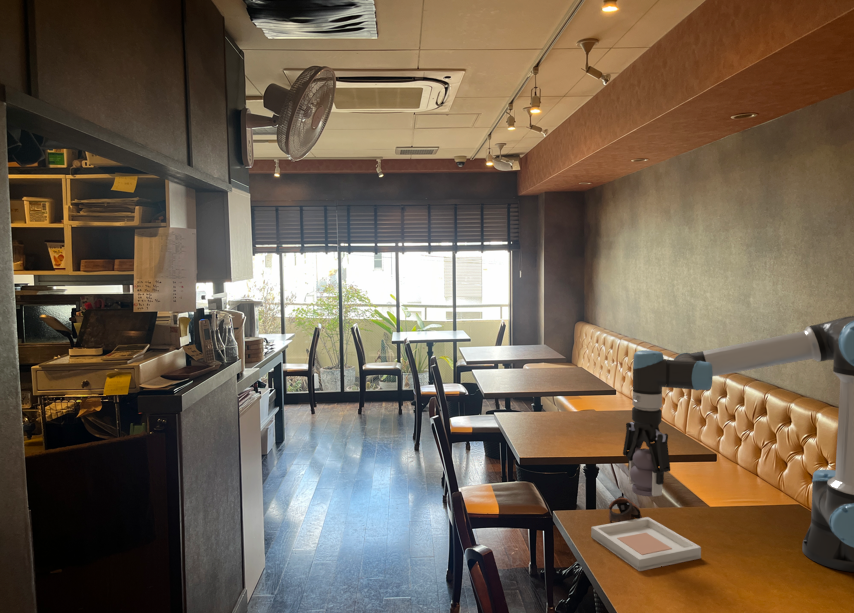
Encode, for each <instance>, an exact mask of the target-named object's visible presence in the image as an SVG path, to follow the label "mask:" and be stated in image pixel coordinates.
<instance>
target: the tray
mask: <svg viewBox="0 0 854 613" xmlns="http://www.w3.org/2000/svg"><path fill="white" fill-rule="evenodd" d="M590 535H591V538H592V539H593V540H594V541H596V542H598V543H599V544H600V545H601V546H603V547H605V548H606V549H607V550H609V551H610V552H612V553H613V554H615V556H617V557H618V558H619V559H621V560H623V562H625V563H627V564H628V565H630V566H631V567H633V568H634V569H635V570H637V571H638V572H643V571H648V570H651V569H655V568H656V569H657V568H661V566H662V567H665V566H666V567H667V566H669V565H670V566H671V565H675V564H680V563H684V562H689V561H693V560H694V561H695V560H698V559H699V560H700V559H701V558H702V547H701V546H700V545H699V544H696V543H695V542H693V541H691V540H689V539H688V538H686V537H684V536H682V535H680V534H678V532H675V531H674V530H672V529H670V528H668V527H666V526H665V525H663V524H662V523H659V522H658V521H656V520H654V519H652V518H651V517H649V516H646V517H642V518H640V519H637V518H633V519H632V520H627V521H622V522H610V523H607V524H601V525H595V526H591V532H590Z"/></svg>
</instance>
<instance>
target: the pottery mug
mask: <svg viewBox="0 0 854 613" xmlns="http://www.w3.org/2000/svg"><path fill="white" fill-rule="evenodd" d="M614 506H617V508H618V511H619V512H618V513H616V512H614V511H613V508H614ZM608 509H609V510H608V511H609V512H608V519H609V522H610V523H617V522H622V521H628V520H633V519H640V518H643V517H642V514H641V510H640V508H639V507H638V505H637V504H635V503H634V502H633V501H631V500H630V499H629V498H626V497H624V496H622V495H621V496H618V497H617V498H616V499H614V500H612V501H611V503H609V506H608Z"/></svg>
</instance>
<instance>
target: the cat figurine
mask: <svg viewBox="0 0 854 613" xmlns="http://www.w3.org/2000/svg"><path fill="white" fill-rule="evenodd" d="M633 462H634V464H635V465H634V466H633V467H632V468H631V470H630V477H631V479H632V481H633V482H634V483H635V484H631V491H632V492H633V494H636V495H638V496H642V497H653V496H652V471H655V469H654V466H653V462H652V458H651V454H650V451H649V448H643V447H642V448H641V449H640V448H638V447H636V448H635V453H634V455H633Z"/></svg>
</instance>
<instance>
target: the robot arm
mask: <svg viewBox="0 0 854 613" xmlns="http://www.w3.org/2000/svg"><path fill="white" fill-rule="evenodd" d="M808 360H813V361H816V362H817V363H820V362H826V361H833V364H832V367H833V368H832V373H833V374H834V375H835V376H836V377H837V378H838V379H839V381H840V382H839V396H838V397H839V398H838V399H839V400H838V417H837V418H838V419H837V434H836V435H837V436H836V437H837V438H836V440H837V441H836V455H835V456H836V457H835V458H836V459H835V470H834V469H818V470H814V472H813V473H812V474H813V476H812V480H811V484H812V486H811V487H812V488H811V489H812V490H811V491H812V492H811V513H810V514H811V521H810V525H809V527H808V529H807V532H806V533H805V536H804V539H803V540H802V553H803V554H804V555H805V556H806V557H807V558H809V559H810V561H811V560H812V561H813V562H815V563H817V564H820V565H821V566H825V567H827V568H831V569H834V570H838V571H844V572H849V573H854V315H852V316H851V315H850V316H844V317H840V318H835V319H833V320H828V321H825V322H821V323H817V324H813V325H808V326H806V327H805V329H804V330H802V331H797V332H792V333H787V334H782V335H778V336H773V337H771V336H770V337H767V338H762V339H756V340H753V341H752V340H751V341H748V342H747V341H746V342H742V343H737V344H731V345H726V346H721V347H717V348H712V349H705V350H703V351H697V352H691V353H690V352H683V353H679V354H678V355H676V356H675V357H674V358H673V359H666V358H664V354H663V352H661V351H657V350H651V349H650V350H647V349H645V350H637V351H635V352H634V354H633V362H632V363H633V365H632V406H633V407H632V409H631V420H632V421H631V422H626V424H625V425H626V426H625V428H626V432H625V438H624V443H623V450H622V456H624V457H626V459H627V460H628V462H627V471H628V484H629V485H633V484H635V483H634V482H633V481H632V479H631V477H630V470H631V468H632V467H633V466H634V465H635V464H634V462H633V455H634V453H635V448H636V447H638V448H640V449H642V448H643V447H642V446H643V444H644V443H645V445H646V447H647V448H648V449H649V451H650V454H651V458H652V462H653V466H654V469H655V471H652V496H651V497H658V496H662V495H663V484H664V482H665V480H664V478H665V476H664V474H665V473H669V472H671V463H670V462H671V461H670V454H669V446H668V440H669V434H668V433H663V432H662V431H660V424H661V423H662V418H663V417H662V414H663V412H662V409H661V408H663V388H666V389H667V388H668V389H669V388H671V389H683V390H684V389H685V390H695V391H709V390H711V389H712V387H713V377H717V376H722V375H728V374H734V373H741V372H746V371H750V370H751V371H752V370H756V369H757V370H758V369H763V368H768V367H769V368H770V367H774V366H779V365H780V366H781V365H787V364H791V363H797V362H802V361H808Z"/></svg>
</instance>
